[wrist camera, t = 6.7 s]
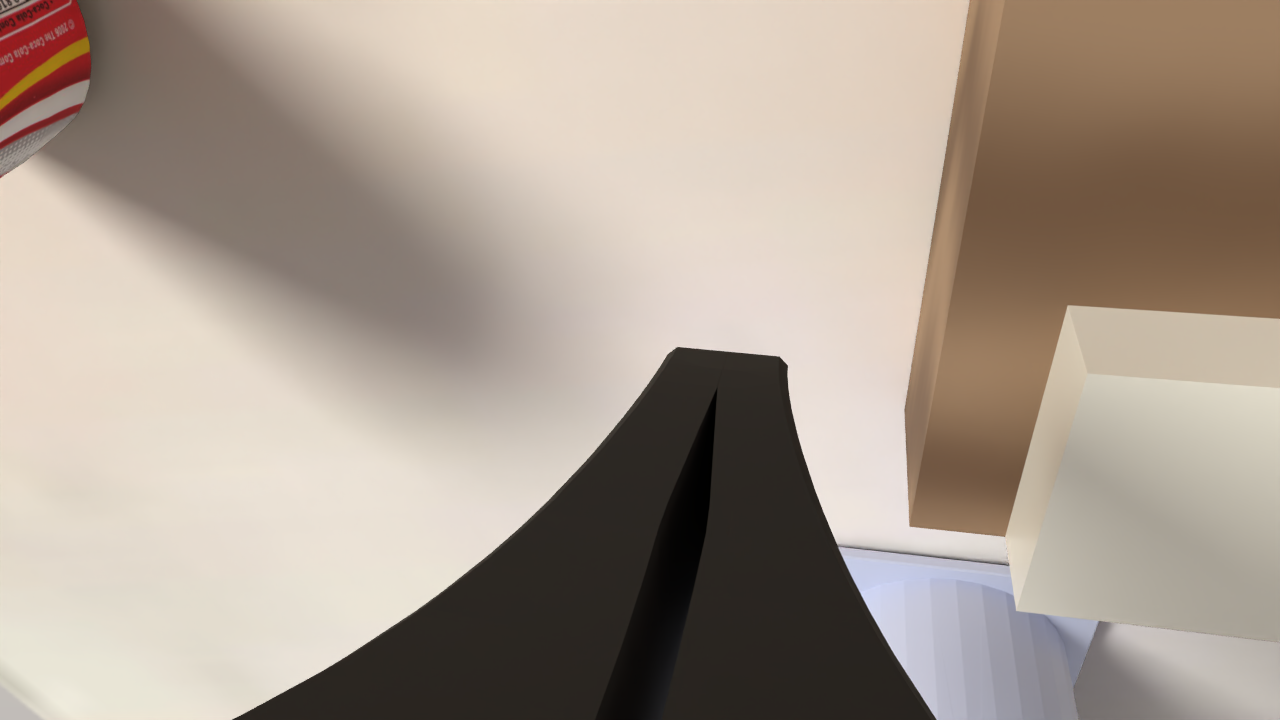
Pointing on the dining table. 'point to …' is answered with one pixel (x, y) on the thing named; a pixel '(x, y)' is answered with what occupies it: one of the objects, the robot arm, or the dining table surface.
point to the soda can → (39, 74)
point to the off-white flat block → (1155, 475)
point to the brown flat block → (1083, 213)
